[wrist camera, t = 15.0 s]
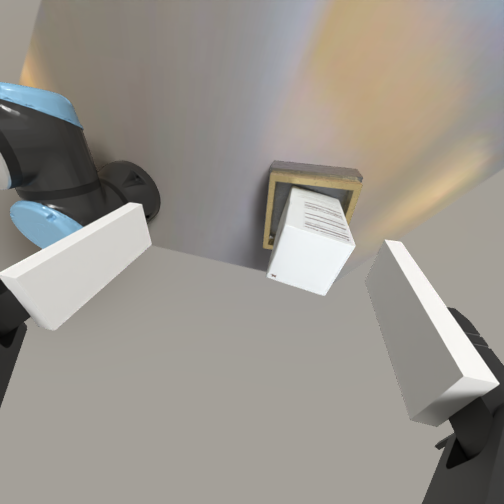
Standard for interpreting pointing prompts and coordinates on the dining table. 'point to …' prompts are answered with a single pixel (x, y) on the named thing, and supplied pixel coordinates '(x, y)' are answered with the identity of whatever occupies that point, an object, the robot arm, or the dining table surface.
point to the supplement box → (310, 242)
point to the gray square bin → (310, 178)
